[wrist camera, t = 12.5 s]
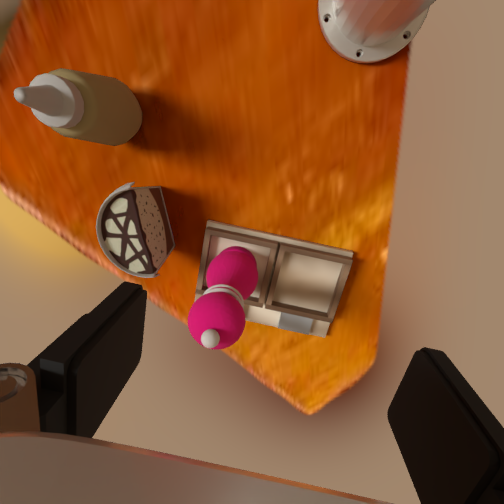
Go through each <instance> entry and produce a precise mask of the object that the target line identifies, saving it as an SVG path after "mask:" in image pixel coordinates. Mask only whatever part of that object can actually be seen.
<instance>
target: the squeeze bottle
mask: <svg viewBox="0 0 504 504" xmlns="http://www.w3.org/2000/svg"><path fill="white" fill-rule="evenodd" d="M14 97H15V99H16V100H17V101H18V102H20V103H22V104H24V105H26V106H28V107H31V110H32V112H33V114H34V115H35V116H36V117H37V118H38V119H39V121H41V122H42V123H44V124H46V125H47V126H50V127H51V128H52V129H53V130H54V131H56V132H58V133H59V134H61V135H63V136H65V137H70V138H75V139H80V140H85V141H91V142H96V143H101V144H106V145H112V146H116V145H120V144H124V143H126V142H127V141H129V140H130V139H131V138H132V137H133V136H134V135H135V134H136V133H137V132H138V131H139V129H140V126H141V124H142V110H141V107H140V104H139V103H138V101H137V99H136V97H135V96H134V94H133V93H132V92H131V90H130V89H129V88H128V86H127V85H125V84H124V83H122V82H121V81H119V80H117V79H116V78H112V77H107V76H101V75H96V74H91V73H85V72H80V71H75V70H69V69H62V68H60V69H57V70H54V71H51V72H49V73H48V74H47V73H44V74H41V75H38V76H36V77H35V78H34V79H33V80H32V82H31V83H30V86H29V87H18V88H16V89H15V90H14Z"/></svg>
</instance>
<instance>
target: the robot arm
mask: <svg viewBox="0 0 504 504" xmlns="http://www.w3.org/2000/svg"><path fill="white" fill-rule="evenodd" d="M434 1H436V0H318V16H319V23H320V26H321V30H322V33H323V35H324V37H325V39H326V41H327V42H328V44H329V45H330V46H331V48H332V49H333V50H334V51H335V52H336V53H338V54H339V55H340V56H341V57H343V58H345V59H347V60H349V61H353V62H356V63H374V62H379V61H381V60H384V59H387V58H389V57H391V56H392V55H394V54H396V53H397V52H399V51H400V50H401V49H402V48H404V47H405V46H406V45H407V44H408V43H409V42H410V41H411V40H412V39H413V38H414V36H415V35H416V33H417V32H418V31H419V29H420V28H421V26H422V24H423V22H424V20H425V18H426V16H427V13H428V10H429V6H430V5H431V4H432V3H434ZM326 18H327V19H328V22H325V21H324V19H326ZM403 35H405V36H406V39H404V38H403ZM357 53H359V54H360V56H359V57H357V56H356V54H357ZM146 300H147V291H146V290H143V288H142V285H139V284H135V283H130V282H123V283H122V284H121V285H120V286H119V287H117V289H115V290H114V291H113V292H112V293H111V294H110V295H109V296H108V297H106V298H105V299H104V300H103V301H102V302H101V303H100V304H99V305H98V306H97V307H95V308H94V309H93V310H92V311H91V312H90V313H88V314H85V315H83V316H82V317H81V318H79V319H78V320H77V321H76V322H75V323H74V324H73V325H72V326H70V328H68V329H67V330H66V331H65V332H64V333H63V334H62V335H60V336H59V337H58V338H57V339H56V340H55V341H54V342H53V343H51V345H49V346H48V347H47V348H46V349H45V350H44V351H43V352H41V353H40V354H39V355H38V356H37V357H36V358H35V359H33V360H32V361H31V362H30V363H29V364H28V365H23V364H20V363H3V364H0V504H393V503H388V502H384V501H380V500H375V499H371V498H367V497H362V496H358V495H353V494H349V493H344V492H340V491H335V490H331V489H326V488H322V487H318V486H313V485H309V484H304V483H300V482H295V481H291V480H286V479H282V478H277V477H273V476H268V475H264V474H259V473H255V472H250V471H246V470H241V469H237V468H232V467H228V466H223V465H218V464H213V463H209V462H204V461H200V460H195V459H191V458H186V457H181V456H177V455H172V454H168V453H163V452H158V451H154V450H149V449H144V448H139V447H134V446H128V445H124V444H118V443H113V442H108V441H103V440H98V439H93V438H92V437H93V435H94V434H95V432H96V431H97V429H98V427H99V426H100V424H101V423H102V421H103V419H104V418H105V416H106V415H107V413H108V411H109V410H110V408H111V407H112V405H113V404H114V402H115V400H116V399H117V397H118V396H119V394H120V392H121V391H122V389H123V388H124V386H125V384H126V383H127V381H128V380H129V378H130V376H131V375H132V373H133V372H134V370H135V368H136V367H137V365H138V363H139V361H140V358H141V353H142V352H141V351H142V343H143V331H144V321H145V311H146ZM388 420H389V423H390V426H391V429H392V431H393V433H394V436H395V439H396V441H397V444H398V446H399V449H400V451H401V454H402V456H403V459H404V462H405V464H406V467H407V469H408V472H409V474H410V477H411V479H412V482H413V484H414V487H415V489H416V492H417V494H418V497H419V500H420V502H421V504H504V428H503V427H502V425H501V424H500V423H499V422H498V420H497V419H496V418H495V416H494V415H493V414H492V413H491V411H490V410H489V409H488V408H487V406H486V405H485V404H484V402H483V401H482V400H481V399H480V397H479V396H478V395H477V394H476V392H475V391H474V390H473V388H472V387H471V386H470V385H469V383H468V382H467V381H466V380H465V378H464V377H463V376H462V374H461V373H460V372H459V371H458V369H457V368H456V367H455V366H454V364H453V363H452V362H451V360H450V359H449V358H448V357H447V355H446V354H445V353H444V352H443V351H439V350H435V349H430V348H426V347H424V348H422V349H421V350H419V351H416V352H415V354H414V355H413V358H412V360H411V362H410V364H409V366H408V368H407V370H406V372H405V375H404V377H403V379H402V381H401V383H400V385H399V387H398V389H397V392H396V394H395V396H394V398H393V400H392V402H391V405H390V406H389V409H388Z"/></svg>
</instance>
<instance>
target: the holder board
mask: <svg viewBox="0 0 504 504" xmlns="http://www.w3.org/2000/svg"><path fill="white" fill-rule="evenodd" d="M231 246H240V247H243V248H246V249H247V250H249V251H250V252H251V253H252V254H253V255H254V257H255V259H256V263H257V271H258V283H257V285H256V288H255V290H254V292H253V293H252V294H251V295H250V296H249V297H248V298H247V299H245V300H244V313H245V320H247V321H251V322H256V323H260V324H265V325H270V326H274V327H278V328H280V329H285V330H289V331H294V332H299V333H303V334H308V335H309V334H311V335H315V336H320V337H326V334H327V331H328V328H329V325H330V323H332V322H333V319H334V316H335V313H336V310H337V307H338V304H339V301H340V298H341V295H342V292H343V289H344V286H345V283H346V280H347V277H348V274H349V271H350V268H351V265H352V262H353V260H352V256H353V252H352V251H351V250H346V249H341V248H337V247H332V246H328V245H323V244H318V243H314V242H309V241H304V240H300V239H295V238H291V237H286V236H281V235H277V234H272V233H268V232H263V231H258V230H254V229H249V228H244V227H240V226H235V225H231V224H226V223H221V222H217V221H212V220H208V221H207V226H206V229H205V236H204V242H203V249H202V255H201V261H200V268H199V274H198V280H197V287H196V296H195V301H196V300H197V299H198V298H200V297H201V296H202V295H203V294H204V292H205V291H206V290H207V289H208V286H207V280H206V274H207V270H208V267H209V265H210V263H211V261H212V260H213V259H214V258H215V257H216V256H218V255H219V254H220V253H221V252H222V251H223V250H224V249H226V248H228V247H231Z"/></svg>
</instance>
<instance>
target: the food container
mask: <svg viewBox="0 0 504 504" xmlns="http://www.w3.org/2000/svg"><path fill="white" fill-rule="evenodd" d="M133 184H134V182H132V183H128V184H125V185H123V186H121V187H119V188H118V189H117V190H115V191H114V192H113V193H112V194H110V195H109V196H108V197H107V198H106V200H105V201H104V202H103V204H102V206H101V208H100V210H99V213H98V216H97V222H96V231H97V237H98V241H99V243H100V246H101V248H102V250H103V252H104V253H105V255H106V256H107V257H108V259H109V260H110V261H111V262H112V263H113V264H114V265H116V266H117V267H118V268H119V269H121V270H123V271H125V272H126V273H129V274H131V275H134V276H138V277H145V278H152V277H157V276H159V275H160V274H156V273H157V272H158V270H159V269H160V267H161V266H162V265H163V263H164V262H165V260H166V259H167V257H168V256H169V255H170V253H171V252H172V250H173V249H174V247H175V242H174V238H173V234H172V230H171V226H170V222H169V218H168V214H167V210H166V206H165V202H164V198H163V194H162V190H161V186H152V187H133V188H131V186H132V185H133Z"/></svg>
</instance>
